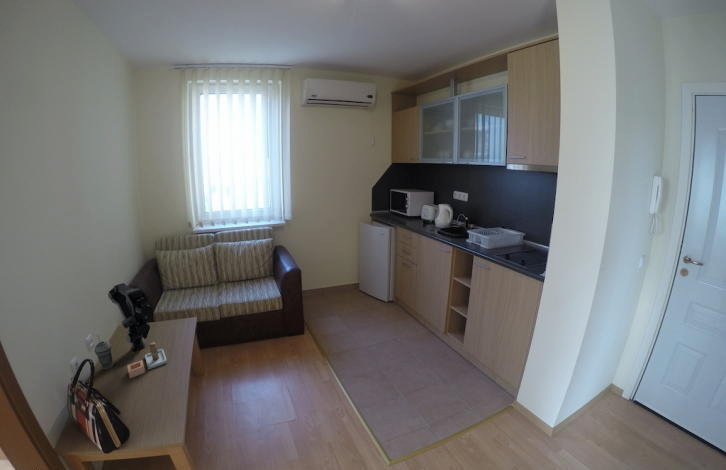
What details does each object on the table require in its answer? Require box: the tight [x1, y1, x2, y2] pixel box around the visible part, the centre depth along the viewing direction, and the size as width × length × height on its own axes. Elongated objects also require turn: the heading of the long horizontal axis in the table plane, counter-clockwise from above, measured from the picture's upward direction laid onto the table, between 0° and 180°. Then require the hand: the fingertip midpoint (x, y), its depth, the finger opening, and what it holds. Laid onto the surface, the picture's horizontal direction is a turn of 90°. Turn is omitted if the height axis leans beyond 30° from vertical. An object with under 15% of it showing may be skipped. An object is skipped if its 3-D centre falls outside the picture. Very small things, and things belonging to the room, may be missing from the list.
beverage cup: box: [94, 334, 114, 370], centre depth 172 cm, size 7×7×20 cm
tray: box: [144, 348, 168, 370], centre depth 179 cm, size 14×9×2 cm, turn 40°
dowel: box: [149, 341, 159, 361], centre depth 178 cm, size 3×3×10 cm
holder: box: [127, 359, 146, 379], centre depth 169 cm, size 7×7×4 cm
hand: (144, 335), depth 181 cm, fingers open, 9 cm apart
